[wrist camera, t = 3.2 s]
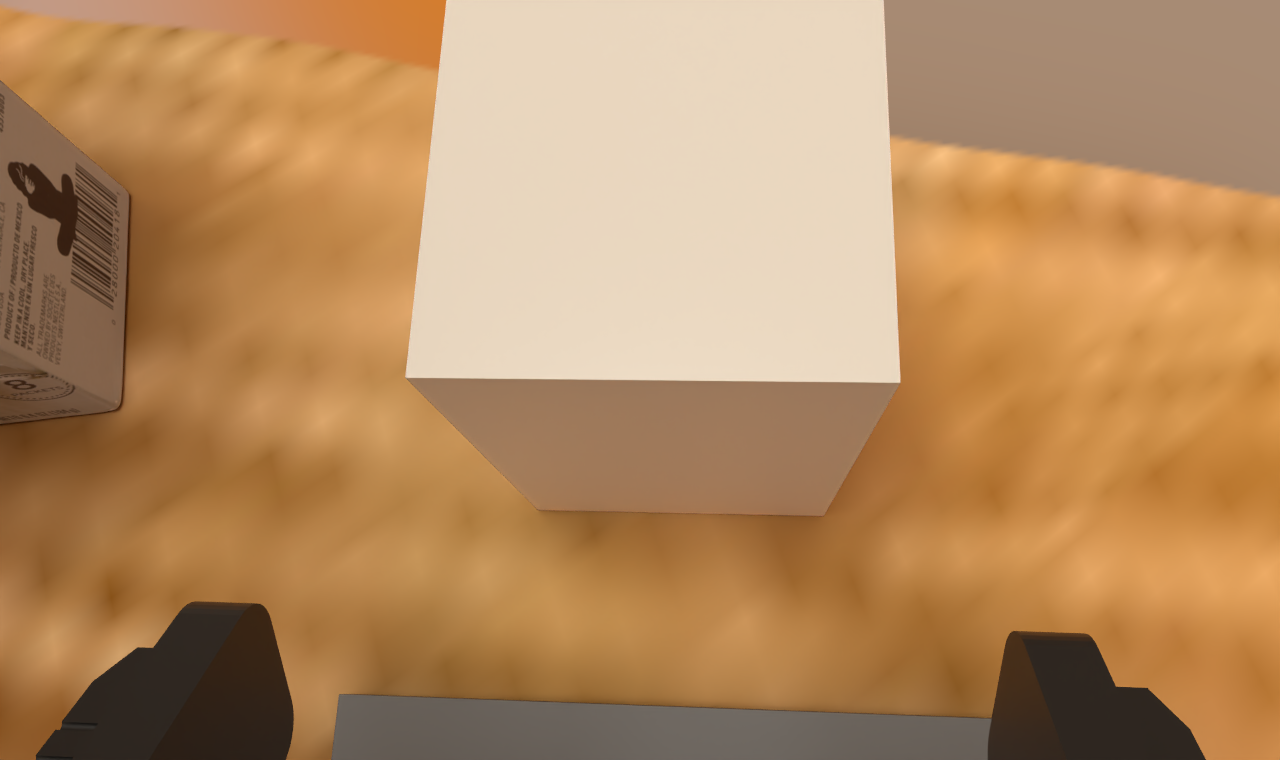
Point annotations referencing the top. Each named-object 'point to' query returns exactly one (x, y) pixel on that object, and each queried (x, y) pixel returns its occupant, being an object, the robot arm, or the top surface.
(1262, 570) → the top surface
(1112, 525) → the top surface
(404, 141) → the top surface
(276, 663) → the robot arm
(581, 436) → the white rectangular block
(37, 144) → the coffee box
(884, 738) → the mat
